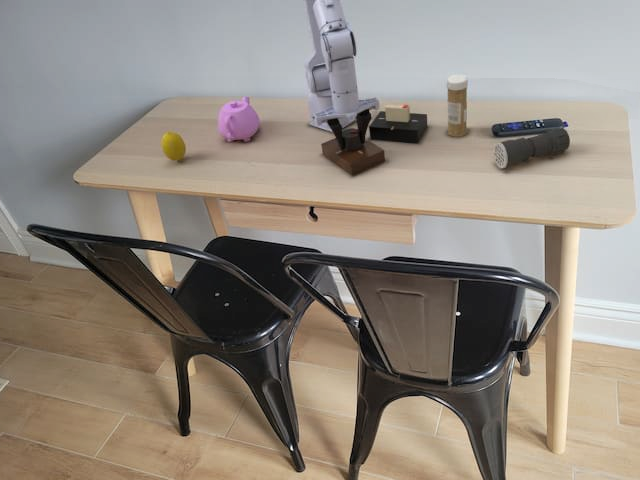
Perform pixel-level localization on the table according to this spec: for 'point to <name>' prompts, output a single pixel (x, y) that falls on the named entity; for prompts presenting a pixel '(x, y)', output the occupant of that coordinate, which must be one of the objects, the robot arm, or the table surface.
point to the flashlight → (530, 147)
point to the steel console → (398, 128)
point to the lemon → (173, 146)
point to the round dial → (351, 139)
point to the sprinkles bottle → (457, 105)
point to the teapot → (238, 120)
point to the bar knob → (397, 113)
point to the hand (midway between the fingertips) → (351, 144)
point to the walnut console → (354, 156)
